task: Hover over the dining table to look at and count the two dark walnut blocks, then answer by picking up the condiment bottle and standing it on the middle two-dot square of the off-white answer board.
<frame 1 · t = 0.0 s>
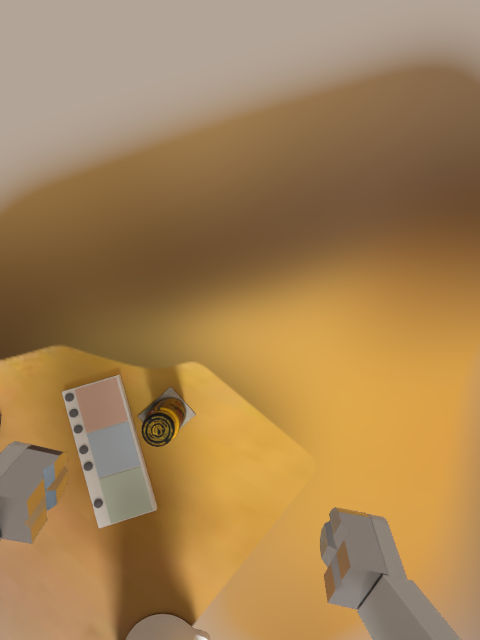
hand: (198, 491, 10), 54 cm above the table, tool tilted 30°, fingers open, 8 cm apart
condiment: (167, 414, 63), on the table
answer board: (110, 448, 63), on the table
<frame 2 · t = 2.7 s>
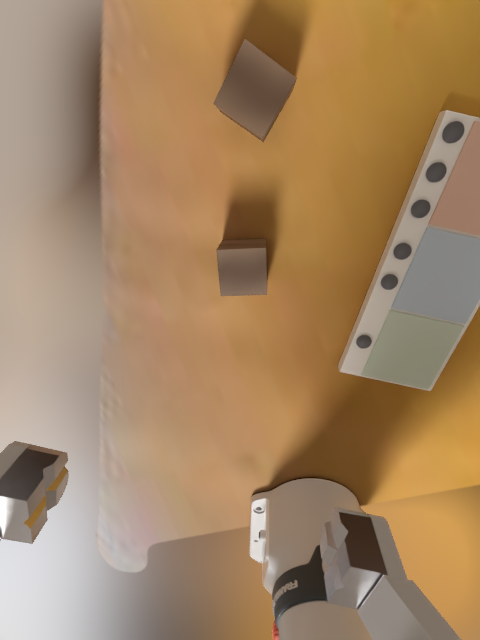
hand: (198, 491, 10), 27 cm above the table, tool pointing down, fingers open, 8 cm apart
walnut block b: (255, 101, 28), on the table
walnut block a: (245, 260, 34), on the table
answer board: (431, 272, 33), on the table
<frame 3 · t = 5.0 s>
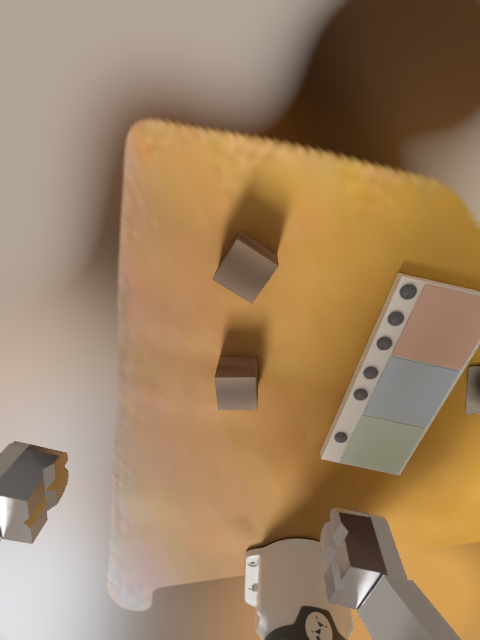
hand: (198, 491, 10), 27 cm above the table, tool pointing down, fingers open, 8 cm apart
walnut block b: (247, 260, 34), on the table
walnut block a: (239, 371, 41), on the table
answer board: (396, 384, 39), on the table
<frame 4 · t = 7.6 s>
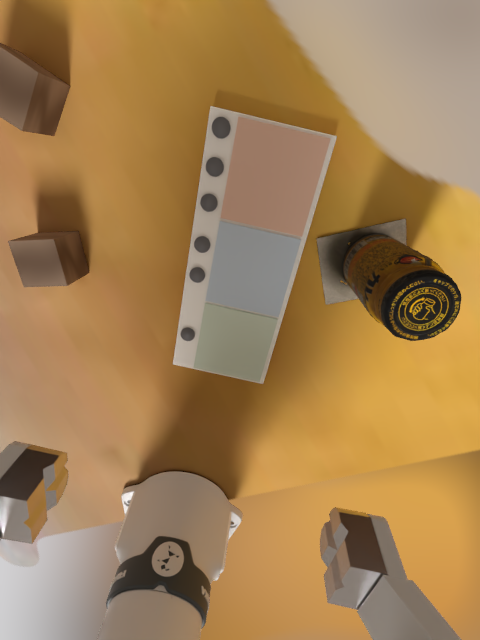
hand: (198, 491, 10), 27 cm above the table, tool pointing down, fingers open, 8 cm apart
walnut block b: (38, 96, 29), on the table
condiment: (362, 263, 33), on the table
walnut block a: (64, 253, 35), on the table
answer board: (242, 265, 34), on the table
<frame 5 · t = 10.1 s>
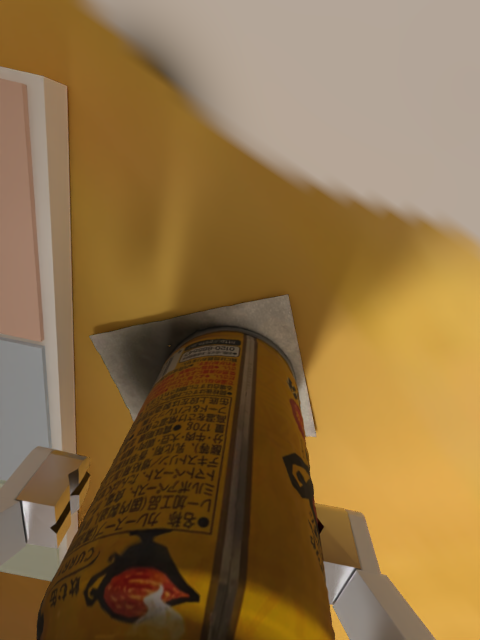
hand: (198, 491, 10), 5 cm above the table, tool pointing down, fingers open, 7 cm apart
condiment: (210, 382, 15), on the table, touching gripper
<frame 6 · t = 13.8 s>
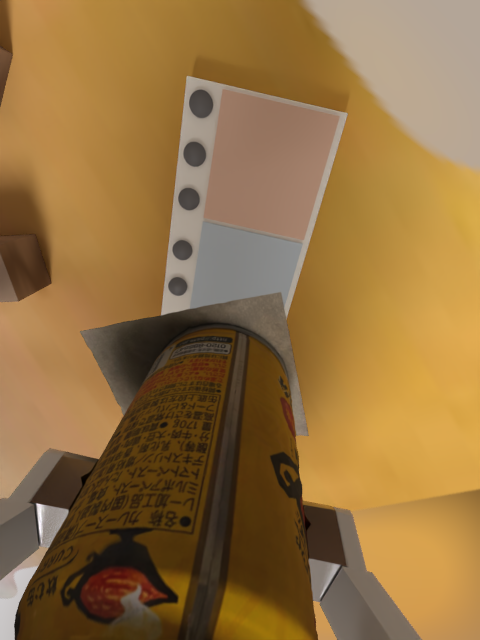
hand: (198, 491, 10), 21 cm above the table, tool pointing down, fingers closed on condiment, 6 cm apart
condiment: (202, 379, 15), point 15 cm above the table, touching gripper
walnut block a: (20, 260, 29), on the table
answer board: (231, 275, 28), on the table
when the fingers open (8 cm above the table, at t = 17.0 s): condiment drops 1 cm, resting on answer board.
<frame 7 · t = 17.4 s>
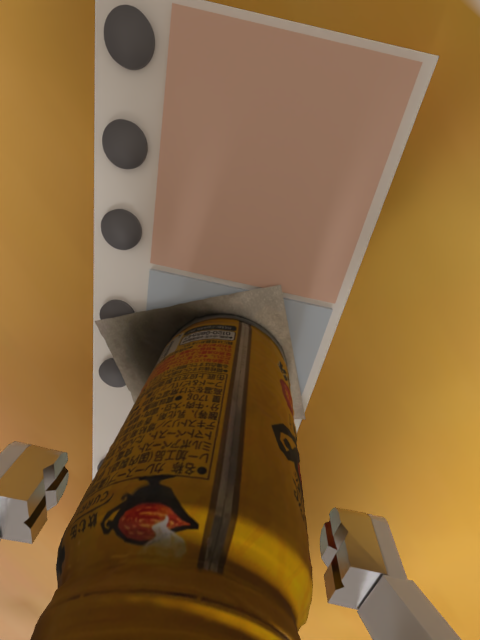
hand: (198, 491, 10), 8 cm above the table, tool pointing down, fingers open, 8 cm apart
condiment: (207, 367, 16), point 1 cm above the table, touching answer board
answer board: (208, 350, 17), on the table
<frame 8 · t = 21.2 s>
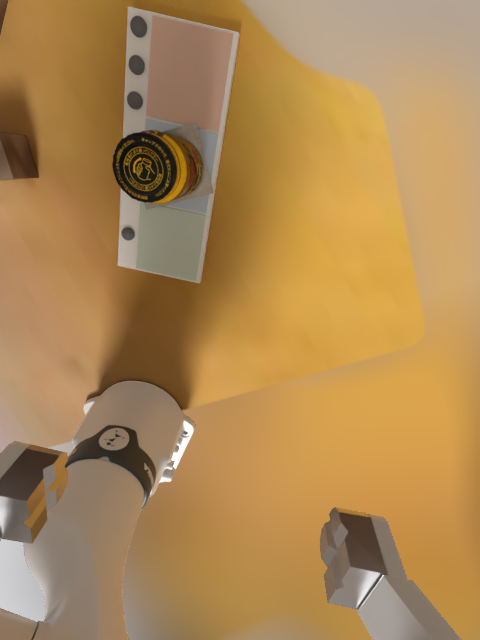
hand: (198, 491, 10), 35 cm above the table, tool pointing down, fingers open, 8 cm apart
condiment: (170, 168, 37), point 1 cm above the table, touching answer board
walnut block a: (15, 158, 39), on the table
answer board: (172, 166, 38), on the table
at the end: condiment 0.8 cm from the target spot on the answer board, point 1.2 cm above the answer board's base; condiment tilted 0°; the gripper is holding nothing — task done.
